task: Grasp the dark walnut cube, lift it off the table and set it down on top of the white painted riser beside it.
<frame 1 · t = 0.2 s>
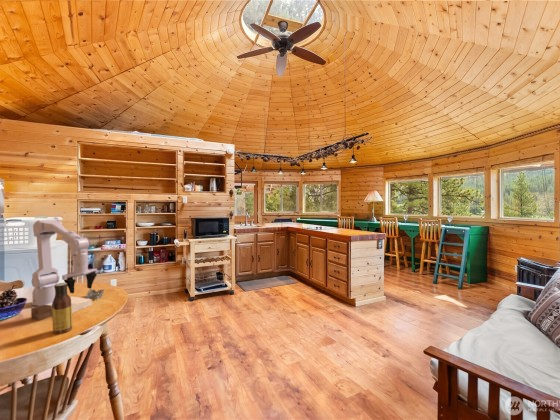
hand: (80, 290, 127), 10 cm above the table, tool pointing down, fingers open, 7 cm apart
egg carton: (95, 298, 146), on the table
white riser: (69, 308, 131), on the table
walnut cube: (41, 317, 120), on the table
sauce bottle: (62, 331, 107), on the table
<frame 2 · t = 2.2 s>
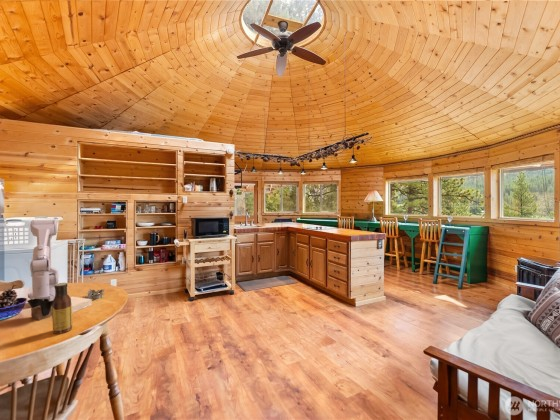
hand: (41, 314, 120), 1 cm above the table, tool pointing down, fingers closed on walnut cube, 5 cm apart
walnut cube: (41, 317, 120), on the table, touching gripper
everything else where it was.
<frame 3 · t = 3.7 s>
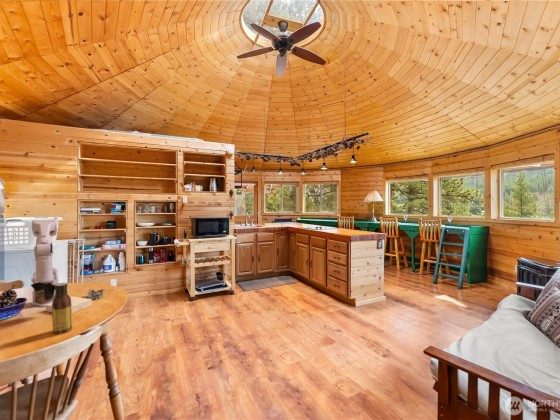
hand: (45, 298, 121), 8 cm above the table, tool pointing down, fingers closed on walnut cube, 5 cm apart
walnut cube: (45, 301, 121), point 7 cm above the table, touching gripper
everything else where it was.
when the fingers open (6 cm above the table, at t = 5.2 s): walnut cube drops 1 cm, resting on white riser.
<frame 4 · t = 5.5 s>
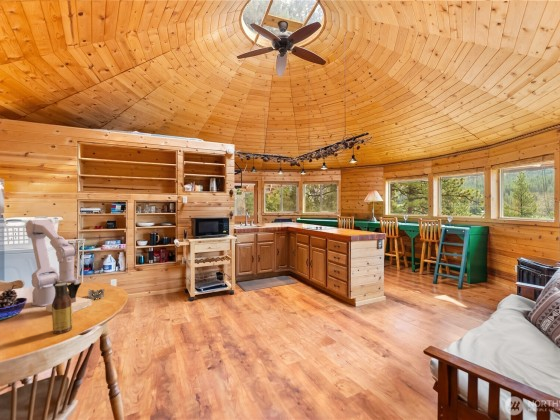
hand: (67, 297, 129), 6 cm above the table, tool pointing down, fingers open, 7 cm apart
walnut cube: (66, 302, 129), point 3 cm above the table, touching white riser
everything else where it was.
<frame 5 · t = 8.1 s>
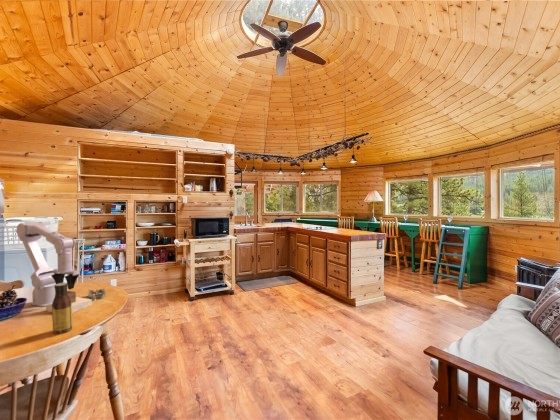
hand: (65, 288, 132), 9 cm above the table, tool pointing down, fingers open, 7 cm apart
at the end: walnut cube inside the target area on the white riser (1.2 cm from its centre), point 3.0 cm above the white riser's base; walnut cube tilted 0°; the gripper is holding nothing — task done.
